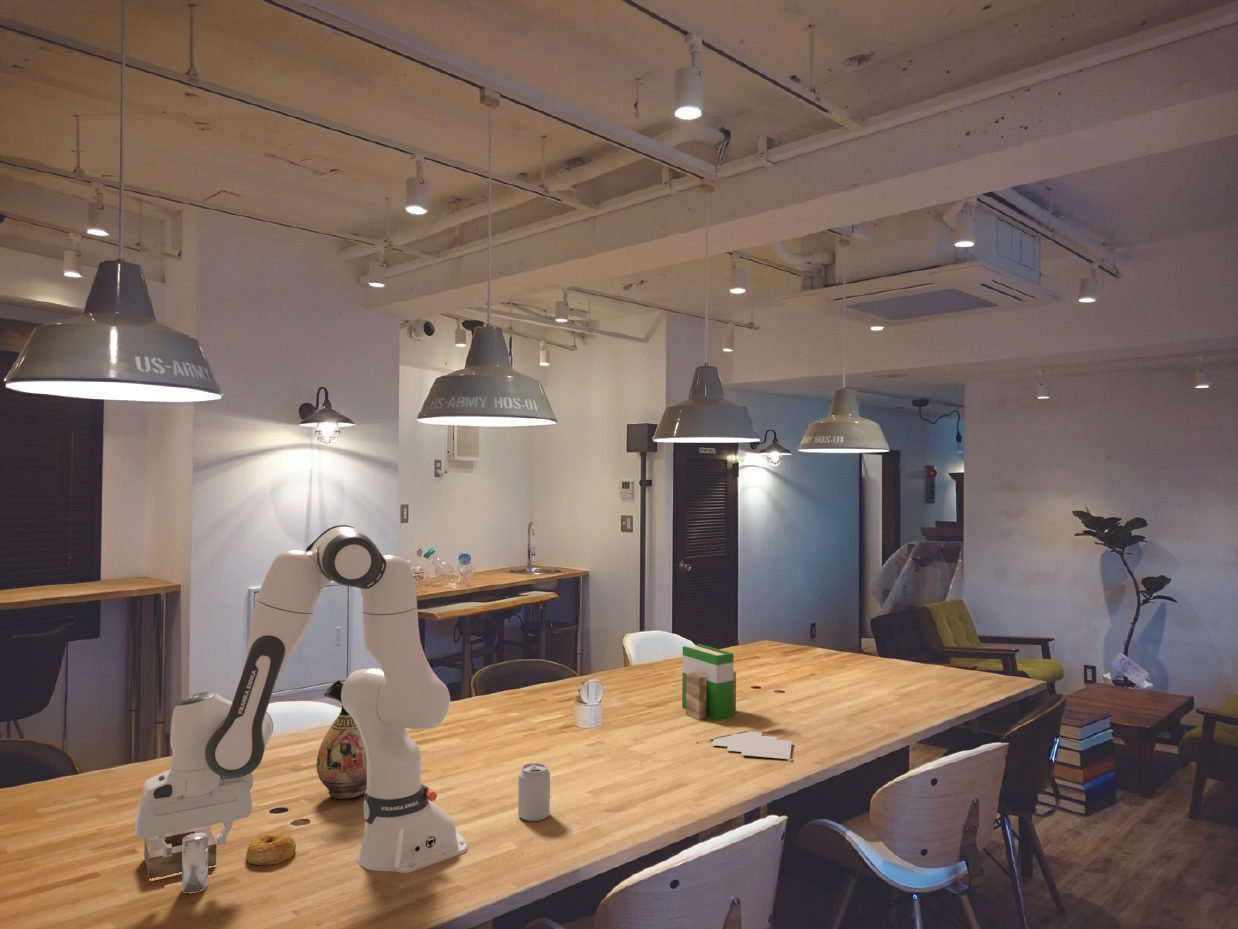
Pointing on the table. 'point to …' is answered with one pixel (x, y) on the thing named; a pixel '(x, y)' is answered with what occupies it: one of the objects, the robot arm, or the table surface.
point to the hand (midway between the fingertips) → (194, 849)
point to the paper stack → (755, 744)
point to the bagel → (271, 849)
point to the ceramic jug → (342, 754)
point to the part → (195, 862)
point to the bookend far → (734, 692)
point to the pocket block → (173, 852)
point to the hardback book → (711, 678)
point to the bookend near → (696, 696)
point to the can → (534, 792)
